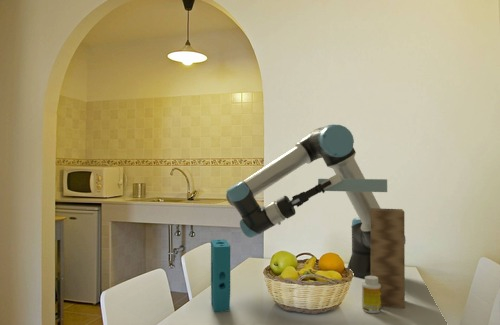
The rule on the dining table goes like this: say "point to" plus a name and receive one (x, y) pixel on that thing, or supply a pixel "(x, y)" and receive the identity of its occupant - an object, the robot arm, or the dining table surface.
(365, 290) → the supplement bottle
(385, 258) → the walnut stand
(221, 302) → the block
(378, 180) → the bar
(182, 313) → the dining table surface
